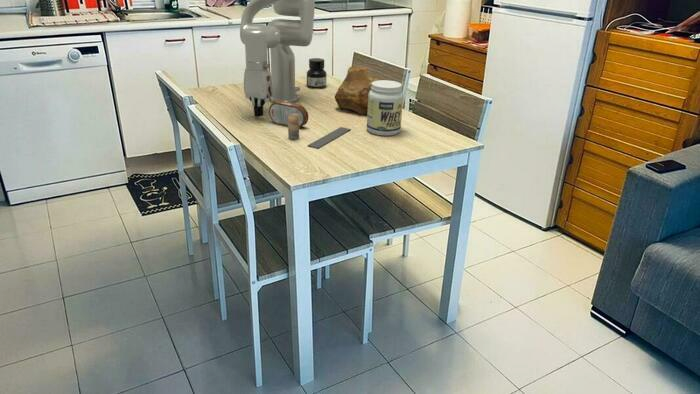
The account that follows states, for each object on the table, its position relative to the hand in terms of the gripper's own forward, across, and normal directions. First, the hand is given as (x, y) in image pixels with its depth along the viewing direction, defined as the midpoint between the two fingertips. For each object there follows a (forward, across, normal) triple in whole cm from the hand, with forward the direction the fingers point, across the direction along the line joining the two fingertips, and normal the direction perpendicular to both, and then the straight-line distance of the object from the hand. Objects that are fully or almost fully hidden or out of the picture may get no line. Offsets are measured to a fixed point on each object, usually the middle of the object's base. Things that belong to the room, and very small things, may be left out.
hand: (258, 115), depth 195 cm
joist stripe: (+1, -32, +3) cm, 32 cm away
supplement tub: (+1, -44, -14) cm, 46 cm away
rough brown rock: (+1, -23, -32) cm, 40 cm away
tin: (+2, -13, 0) cm, 13 cm away
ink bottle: (+1, +7, -52) cm, 53 cm away
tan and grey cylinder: (+1, -22, +10) cm, 24 cm away
